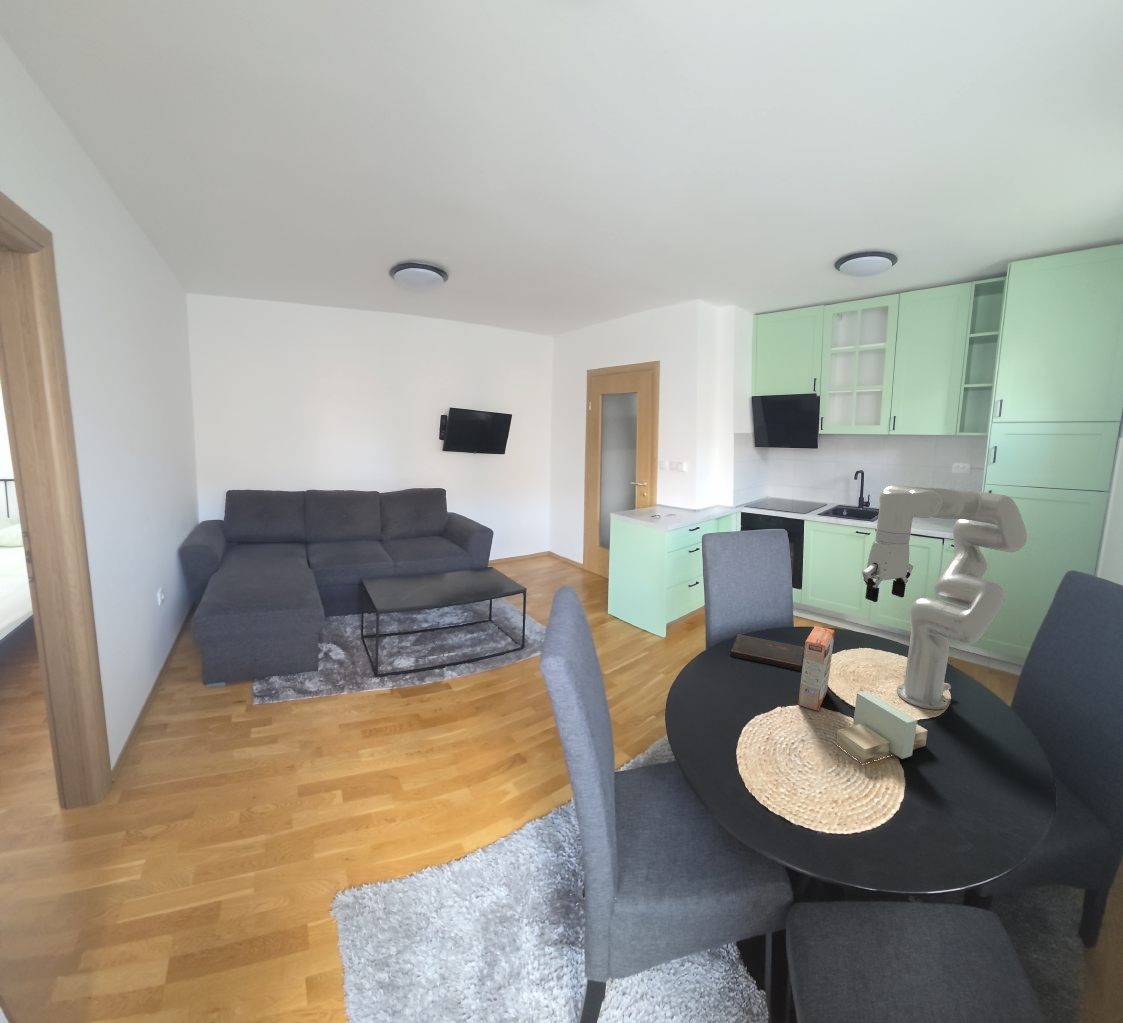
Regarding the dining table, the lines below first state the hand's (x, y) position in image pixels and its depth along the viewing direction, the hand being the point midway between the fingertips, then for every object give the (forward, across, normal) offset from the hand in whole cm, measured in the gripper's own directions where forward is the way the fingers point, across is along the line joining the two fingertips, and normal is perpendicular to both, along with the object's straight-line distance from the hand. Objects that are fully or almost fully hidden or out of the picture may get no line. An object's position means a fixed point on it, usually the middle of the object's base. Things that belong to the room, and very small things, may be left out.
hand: (884, 598), depth 136 cm
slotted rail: (+36, +8, +10) cm, 38 cm away
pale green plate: (+35, +8, +10) cm, 37 cm away
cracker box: (+36, +7, -13) cm, 39 cm away
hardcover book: (+37, 0, -41) cm, 55 cm away
